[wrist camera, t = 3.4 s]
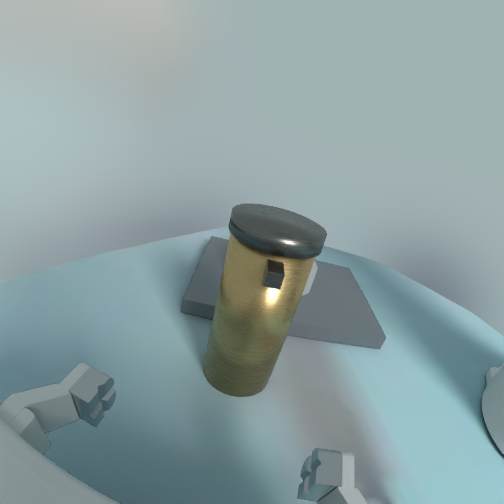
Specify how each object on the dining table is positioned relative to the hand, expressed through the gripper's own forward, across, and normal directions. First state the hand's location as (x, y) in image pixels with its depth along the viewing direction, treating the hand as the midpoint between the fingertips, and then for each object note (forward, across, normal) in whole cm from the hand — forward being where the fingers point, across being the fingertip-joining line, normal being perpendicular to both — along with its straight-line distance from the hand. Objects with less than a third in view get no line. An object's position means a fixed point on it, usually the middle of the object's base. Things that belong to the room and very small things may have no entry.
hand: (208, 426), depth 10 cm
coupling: (+10, 0, +7) cm, 12 cm away
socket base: (+24, -2, +7) cm, 25 cm away
